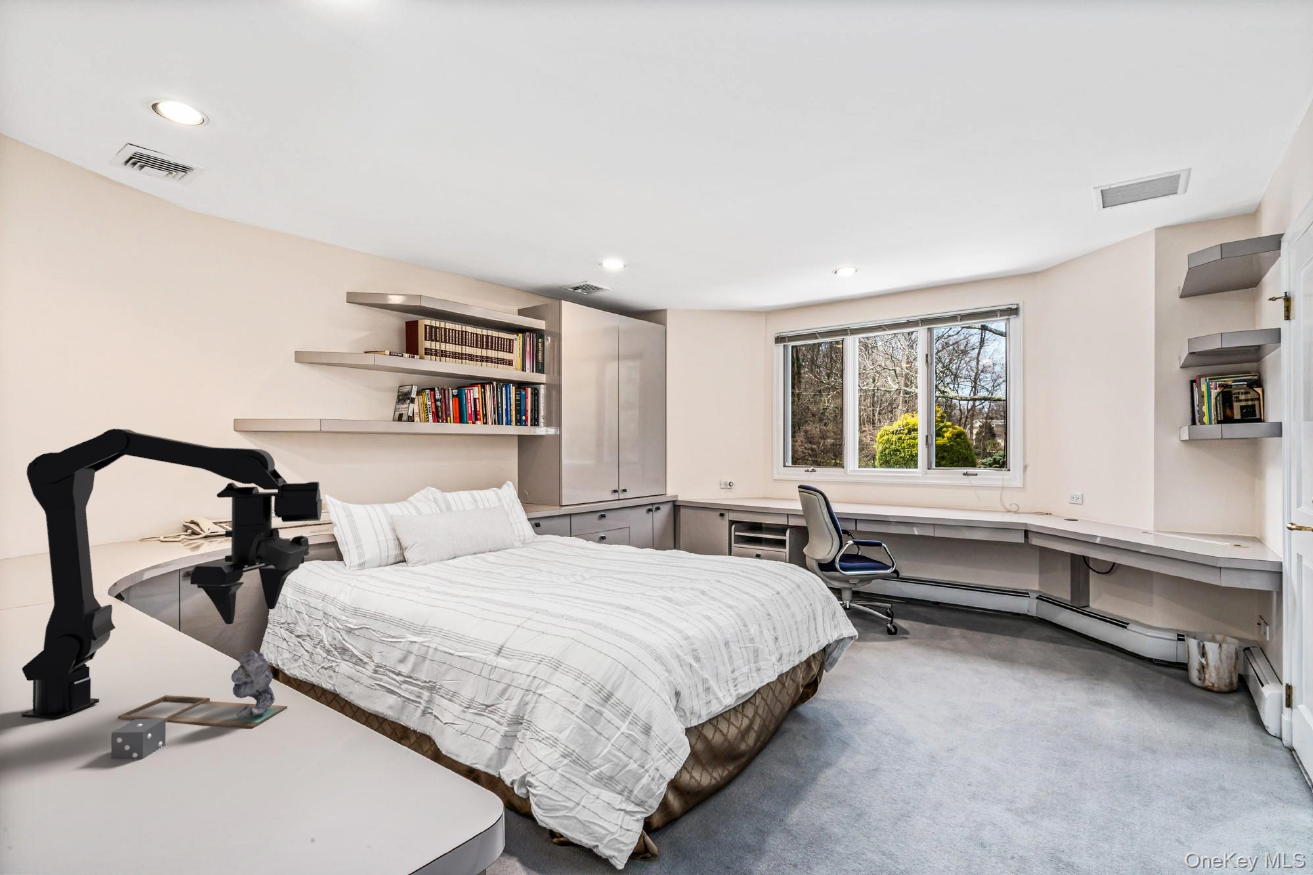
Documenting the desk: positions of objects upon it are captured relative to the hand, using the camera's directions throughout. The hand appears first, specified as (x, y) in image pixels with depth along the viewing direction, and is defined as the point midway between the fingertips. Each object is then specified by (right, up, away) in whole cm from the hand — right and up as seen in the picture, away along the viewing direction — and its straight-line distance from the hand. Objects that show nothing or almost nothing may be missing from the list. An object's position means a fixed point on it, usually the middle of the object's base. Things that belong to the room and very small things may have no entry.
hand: (251, 616), depth 106 cm
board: (+2, -12, -9) cm, 16 cm away
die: (-1, -13, -22) cm, 25 cm away
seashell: (+7, -12, -10) cm, 18 cm away
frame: (-8, -12, -8) cm, 17 cm away
